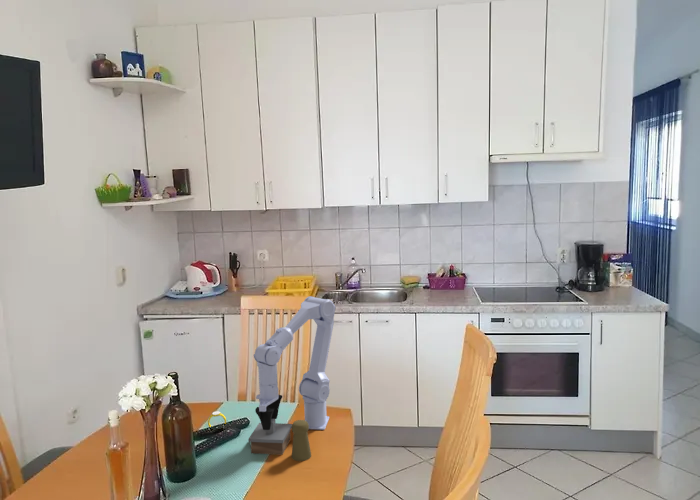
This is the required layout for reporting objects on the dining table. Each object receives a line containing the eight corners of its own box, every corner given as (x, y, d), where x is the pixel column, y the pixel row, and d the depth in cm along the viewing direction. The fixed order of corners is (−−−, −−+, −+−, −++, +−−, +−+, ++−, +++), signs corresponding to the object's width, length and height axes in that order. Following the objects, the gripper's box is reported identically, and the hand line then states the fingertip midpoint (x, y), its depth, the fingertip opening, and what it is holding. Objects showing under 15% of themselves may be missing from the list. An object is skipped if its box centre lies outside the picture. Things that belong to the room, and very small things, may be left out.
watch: (208, 432, 179) (206, 416, 178) (209, 428, 182) (207, 412, 181) (226, 429, 180) (224, 413, 179) (227, 426, 183) (225, 409, 182)
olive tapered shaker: (308, 461, 158) (306, 426, 156) (288, 460, 159) (287, 425, 158) (313, 451, 164) (312, 418, 162) (294, 450, 165) (293, 416, 164)
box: (261, 437, 174) (260, 426, 173) (290, 439, 172) (290, 427, 172) (251, 453, 164) (250, 441, 163) (282, 454, 162) (282, 442, 162)
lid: (259, 425, 174) (258, 412, 173) (292, 426, 172) (291, 413, 172) (248, 441, 163) (247, 427, 162) (283, 443, 161) (282, 429, 161)
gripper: (262, 374, 173) (264, 413, 175) (248, 391, 159) (250, 434, 161) (283, 374, 172) (285, 414, 174) (271, 391, 158) (273, 434, 160)
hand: (270, 423), depth 167 cm, fingers open, 7 cm apart
